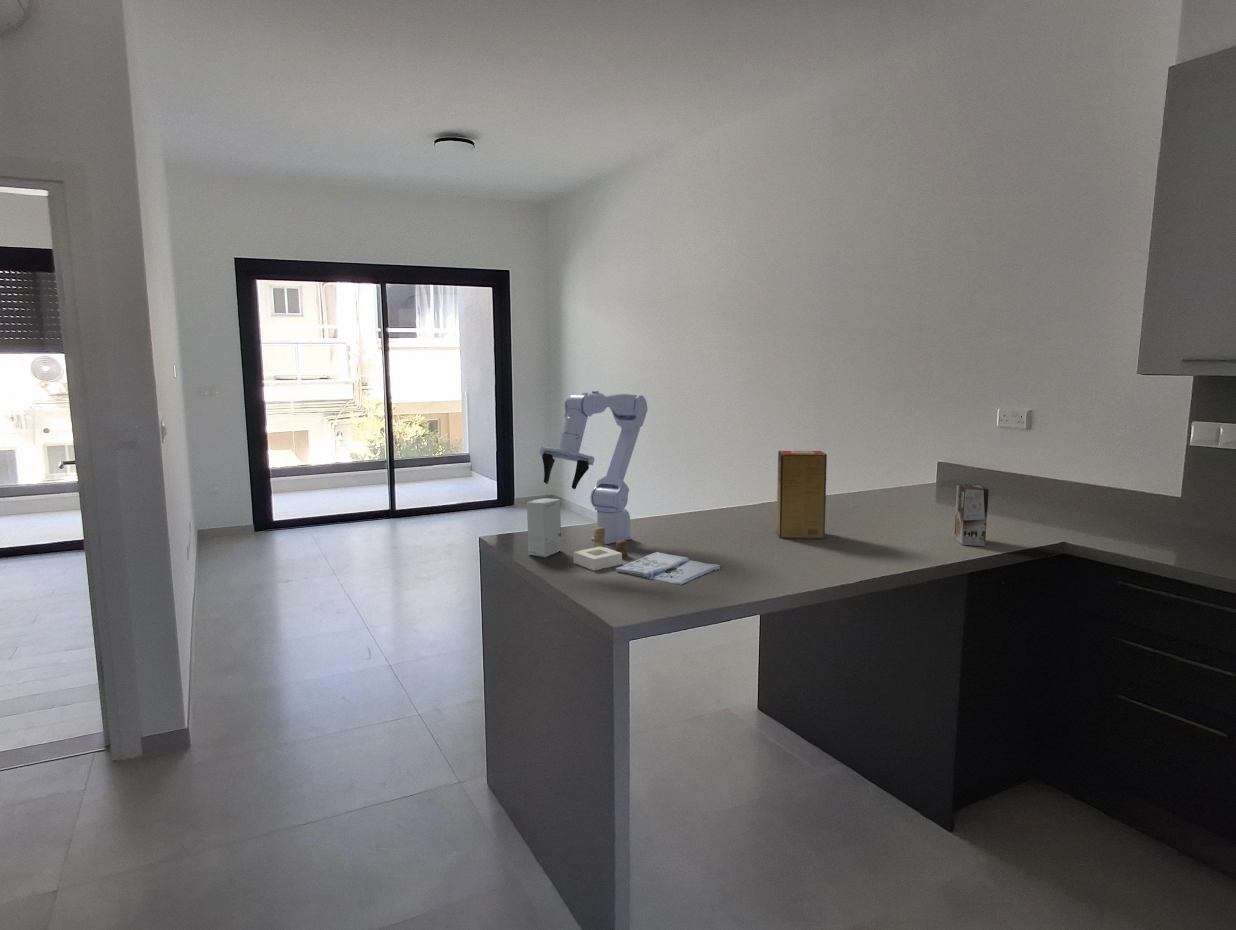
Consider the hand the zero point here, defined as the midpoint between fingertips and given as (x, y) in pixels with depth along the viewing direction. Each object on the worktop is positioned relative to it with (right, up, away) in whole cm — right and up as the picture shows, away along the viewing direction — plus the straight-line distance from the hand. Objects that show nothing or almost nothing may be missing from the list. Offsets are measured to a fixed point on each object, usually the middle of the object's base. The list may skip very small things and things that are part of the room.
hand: (559, 485), depth 195 cm
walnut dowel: (+16, -19, +5) cm, 26 cm away
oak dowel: (+10, -19, +8) cm, 23 cm away
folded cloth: (+28, -22, -8) cm, 37 cm away
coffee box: (+115, -17, +16) cm, 118 cm away
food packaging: (+70, -16, +26) cm, 76 cm away
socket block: (+10, -20, -2) cm, 23 cm away
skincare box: (-5, -19, +9) cm, 22 cm away
